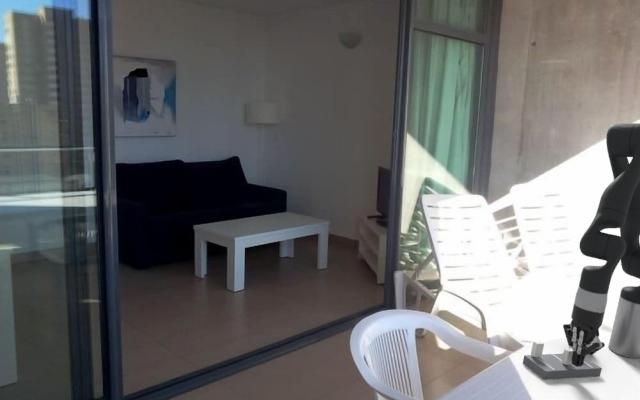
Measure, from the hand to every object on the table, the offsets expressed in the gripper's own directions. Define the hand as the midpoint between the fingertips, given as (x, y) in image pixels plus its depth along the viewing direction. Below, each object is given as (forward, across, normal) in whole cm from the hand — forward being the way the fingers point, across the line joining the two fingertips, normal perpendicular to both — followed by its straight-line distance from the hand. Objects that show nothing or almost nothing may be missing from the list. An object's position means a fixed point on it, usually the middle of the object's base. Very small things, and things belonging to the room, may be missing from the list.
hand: (576, 365), depth 148 cm
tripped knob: (+1, -3, 0) cm, 3 cm away
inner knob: (+1, -8, +6) cm, 10 cm away
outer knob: (+1, -8, -7) cm, 11 cm away
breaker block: (+4, -5, 0) cm, 6 cm away
